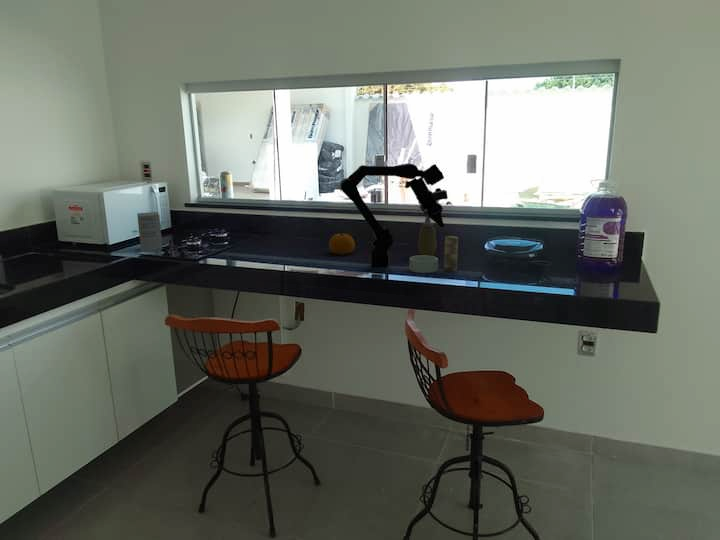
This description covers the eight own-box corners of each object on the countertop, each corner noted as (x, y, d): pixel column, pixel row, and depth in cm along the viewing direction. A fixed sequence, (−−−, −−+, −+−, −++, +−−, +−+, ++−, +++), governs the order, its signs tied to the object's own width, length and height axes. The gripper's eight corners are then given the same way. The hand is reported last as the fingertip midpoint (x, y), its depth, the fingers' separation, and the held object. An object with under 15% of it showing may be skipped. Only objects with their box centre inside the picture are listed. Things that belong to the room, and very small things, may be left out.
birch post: (443, 271, 216) (444, 238, 213) (444, 268, 221) (445, 236, 218) (456, 271, 216) (458, 238, 212) (456, 268, 220) (458, 236, 217)
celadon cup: (408, 272, 215) (408, 261, 214) (410, 265, 225) (410, 254, 224) (437, 273, 213) (437, 262, 212) (438, 266, 223) (438, 255, 222)
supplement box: (140, 248, 264) (136, 213, 260) (161, 246, 268) (157, 211, 263) (142, 252, 255) (138, 215, 251) (163, 250, 259) (159, 214, 255)
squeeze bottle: (415, 255, 242) (415, 215, 238) (421, 252, 249) (422, 212, 245) (432, 257, 239) (433, 216, 234) (438, 253, 246) (440, 213, 241)
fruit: (356, 250, 254) (356, 229, 252) (353, 256, 243) (353, 233, 241) (331, 250, 255) (330, 228, 253) (327, 255, 244) (326, 233, 242)
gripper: (443, 183, 211) (463, 218, 214) (435, 179, 229) (453, 211, 232) (418, 198, 212) (438, 233, 215) (411, 193, 230) (430, 225, 233)
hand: (440, 225), depth 224 cm, fingers open, 9 cm apart
